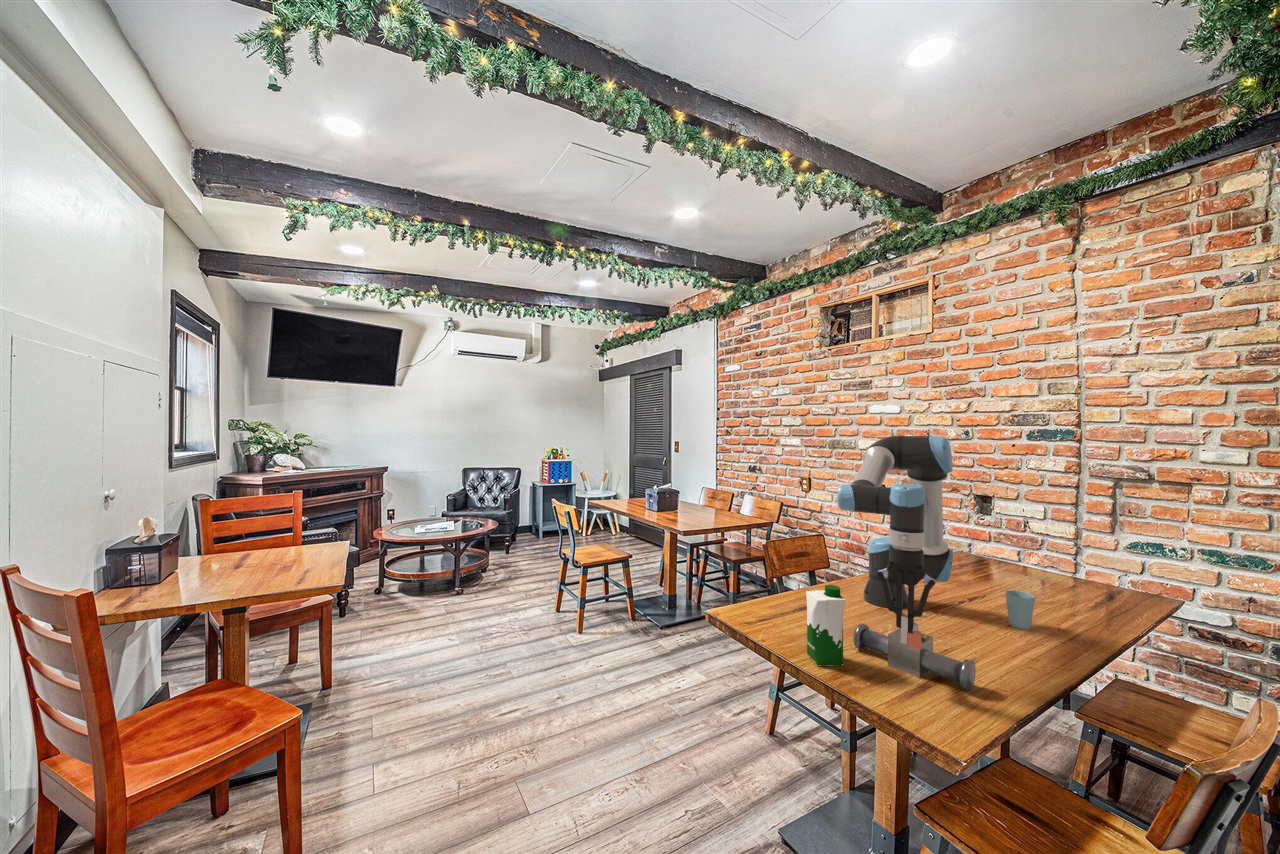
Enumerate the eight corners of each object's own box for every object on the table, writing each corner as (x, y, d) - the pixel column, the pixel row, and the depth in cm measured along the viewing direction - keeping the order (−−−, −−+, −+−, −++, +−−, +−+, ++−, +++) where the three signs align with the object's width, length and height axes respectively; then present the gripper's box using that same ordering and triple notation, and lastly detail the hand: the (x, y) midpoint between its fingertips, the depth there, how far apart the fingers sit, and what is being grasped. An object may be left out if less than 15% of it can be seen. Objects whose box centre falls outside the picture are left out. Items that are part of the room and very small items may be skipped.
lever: (902, 626, 131) (902, 611, 131) (917, 629, 130) (917, 613, 130) (906, 650, 117) (906, 632, 117) (923, 653, 116) (923, 635, 116)
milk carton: (848, 667, 128) (849, 592, 128) (815, 668, 128) (816, 593, 128) (832, 652, 137) (833, 582, 137) (802, 653, 136) (802, 582, 136)
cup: (1040, 628, 155) (1040, 596, 155) (1026, 632, 152) (1026, 599, 152) (1014, 619, 162) (1014, 589, 162) (1000, 623, 159) (1000, 592, 159)
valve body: (852, 651, 138) (852, 617, 138) (866, 644, 142) (866, 611, 142) (963, 695, 115) (964, 654, 115) (976, 684, 120) (976, 645, 120)
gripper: (875, 546, 120) (873, 640, 120) (936, 554, 113) (934, 654, 113) (879, 540, 126) (877, 629, 126) (937, 547, 119) (935, 642, 119)
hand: (904, 641), depth 120 cm, fingers closed
